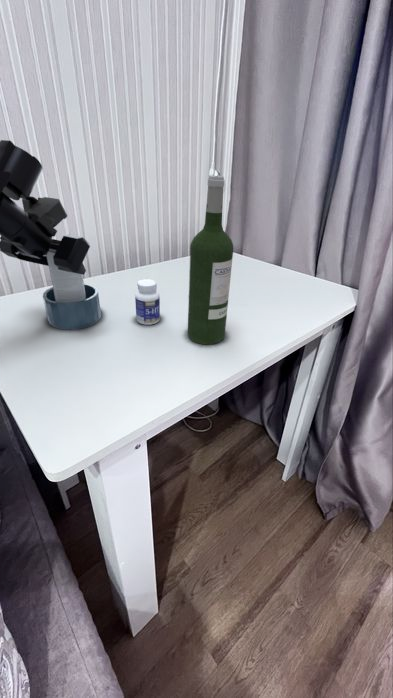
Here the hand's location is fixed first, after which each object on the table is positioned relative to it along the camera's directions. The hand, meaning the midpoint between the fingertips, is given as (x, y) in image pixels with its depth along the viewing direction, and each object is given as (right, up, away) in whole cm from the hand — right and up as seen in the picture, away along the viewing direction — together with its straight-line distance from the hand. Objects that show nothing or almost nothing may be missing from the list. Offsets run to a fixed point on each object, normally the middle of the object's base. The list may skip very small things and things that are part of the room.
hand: (71, 269), depth 70 cm
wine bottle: (+28, -14, +1) cm, 32 cm away
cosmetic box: (-1, -6, +3) cm, 7 cm away
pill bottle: (+15, -10, +5) cm, 19 cm away
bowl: (-1, -10, +5) cm, 11 cm away
